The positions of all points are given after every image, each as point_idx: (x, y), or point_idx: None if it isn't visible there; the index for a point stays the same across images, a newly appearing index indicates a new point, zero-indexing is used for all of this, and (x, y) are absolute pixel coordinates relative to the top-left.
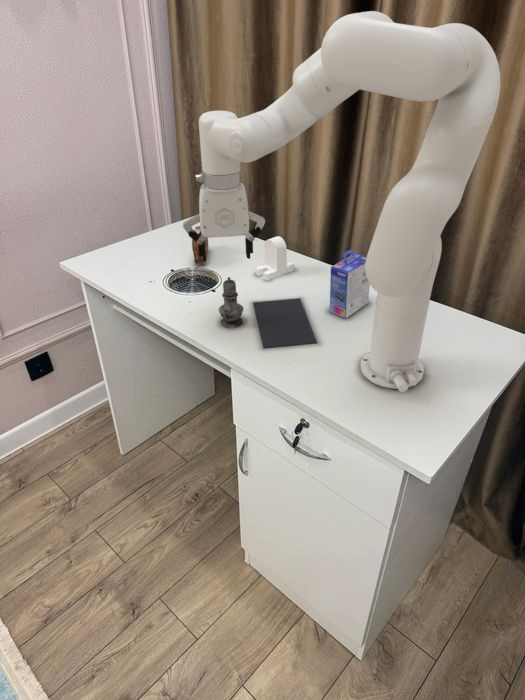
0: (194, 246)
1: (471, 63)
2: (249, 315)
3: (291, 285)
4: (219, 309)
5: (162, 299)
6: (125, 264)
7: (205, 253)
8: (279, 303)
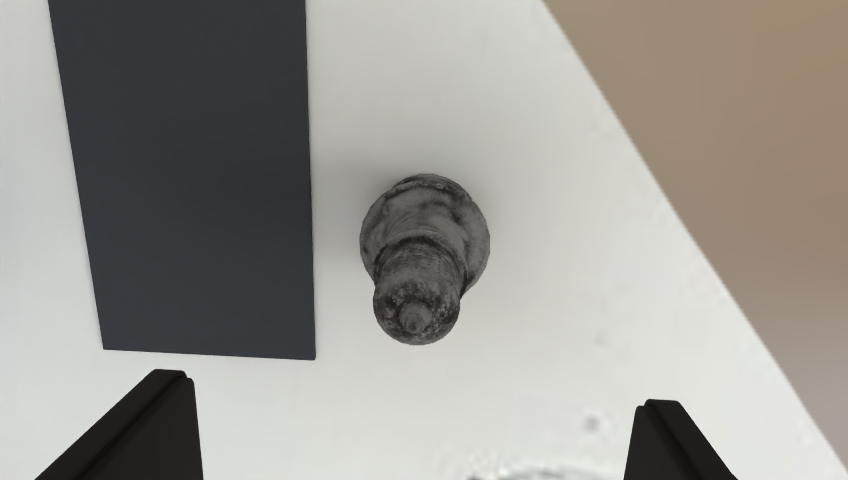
0: None
1: None
2: (341, 264)
3: None
4: (484, 251)
5: None
6: None
7: (680, 465)
8: (197, 326)
